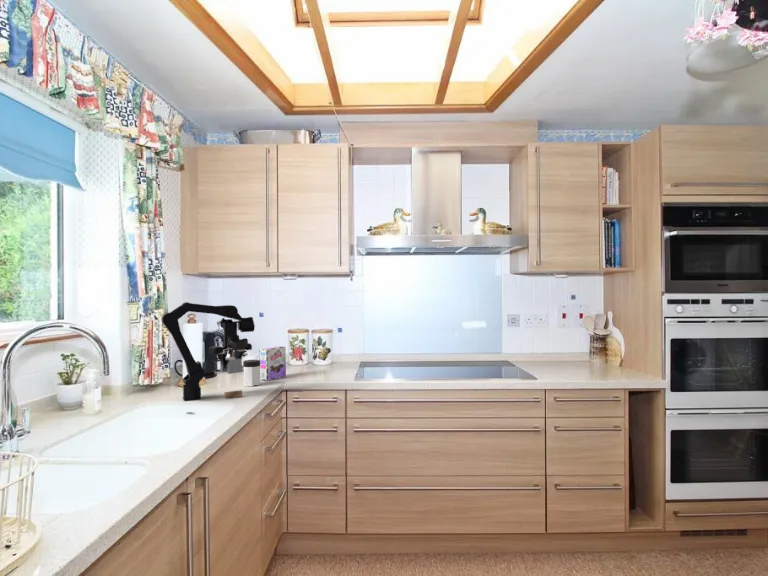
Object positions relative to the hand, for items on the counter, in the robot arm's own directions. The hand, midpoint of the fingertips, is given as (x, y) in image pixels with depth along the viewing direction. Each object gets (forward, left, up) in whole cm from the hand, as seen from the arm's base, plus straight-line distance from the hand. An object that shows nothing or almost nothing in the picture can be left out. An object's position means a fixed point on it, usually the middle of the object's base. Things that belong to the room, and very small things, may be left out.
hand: (231, 367), depth 206 cm
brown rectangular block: (-1, -8, -12) cm, 14 cm away
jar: (+13, +14, -12) cm, 23 cm away
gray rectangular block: (0, 0, -2) cm, 2 cm away
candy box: (+27, +25, -12) cm, 39 cm away
